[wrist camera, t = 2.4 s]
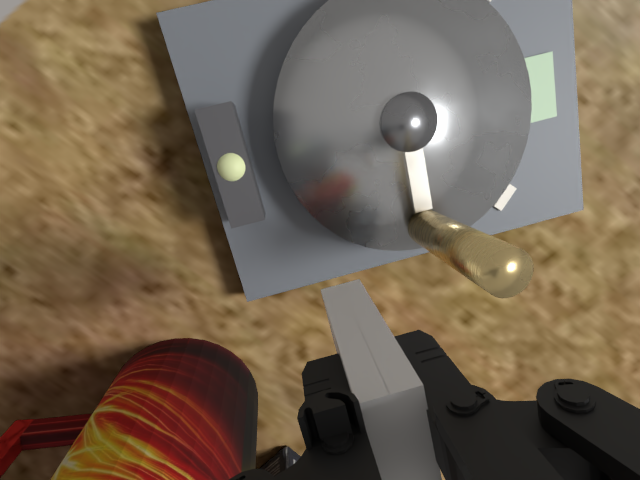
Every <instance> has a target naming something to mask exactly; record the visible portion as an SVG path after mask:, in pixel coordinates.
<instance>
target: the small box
mask: <svg viewBox="0 0 640 480" xmlns="http://www.w3.org/2000/svg"><path fill="white" fill-rule="evenodd" d="M299 458H300V456H299V455H298V454H297V453H296V452H294V451H293V450H292V449H291V448H290V447H284V448H283V449H282V450H280V451H279V452H278V453H277V454H276V455H275V456H274V457H273V458H271V459H270V460H269V461H268V462H267V463H266V464H265V465H263V466H262V467H261V468H260V469H263V470H266V471H268V472H269V473H271V474H272V475H273V476H276V475H277V474H279V473H281V472H282V471H284V470H286V469H287V468H289V467H290V466H291V465H293V464H294V463H295V462H296V461H297V460H298V459H299Z"/></svg>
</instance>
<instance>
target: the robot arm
mask: <svg viewBox="0 0 640 480" xmlns="http://www.w3.org/2000/svg"><path fill="white" fill-rule="evenodd" d="M321 293H322V297H323V301H324V305H325V308H326V312H327V316H328V320H329V324H330V328H331V332H332V336H333V340H334V343H335V347H336V351H337V354H335V355H331V356H327V357H324V358H320V359H317V360H313V361H309V362H307V364H306V366H305V368H304V370H303V372H302V379H303V386H304V396H305V401H304V403H303V404H302V406H301V407H300V409H299V412H298V418H297V419H298V422H299V425H300V429H301V432H302V435H303V438H304V442H305V445H306V450H305V451H304V453H303V455H302V456H301V457H300V458H299V459H298V460H297V461H296V462H295V463H294V464H293V465H291V466H290V467H289V468H287V469H286V470H284V471H282V472H281V473H279V474H277V475H276V476H273V475H272V474H271V473H269V472H268V471H266V470H263V469H251V470H247V471H243V472H241V473H239V474H237V475H235V476H234V477H232V478H230V479H229V480H442V479H441V473H440V469H441V471H442V473H443V475H444V477H445V479H446V480H640V409H638V408H636V407H635V406H633V405H631V404H629V403H627V402H625V401H623V400H621V399H620V398H618V397H616V396H614V395H612V394H610V393H608V392H606V391H605V390H603V389H601V388H599V387H597V386H594V385H592V384H589V383H587V382H584V381H579V380H573V379H556V380H553V381H549V382H546V383H544V384H543V385H542V386H541V387H540V388H539V389H538V392H537V396H536V399H537V401H501V400H496V399H495V398H494V396H493V395H491V394H490V393H489V392H488V391H486V390H485V389H483V388H480V387H477V386H475V385H471V384H470V383H469V382H468V381H467V379H466V378H465V377H464V376H463V374H462V373H461V372H460V371H459V369H458V368H457V367H456V366H455V364H454V363H453V362H452V361H451V359H450V358H449V357H448V356H447V355H446V353H445V352H444V350H443V349H442V348H440V345H439V344H438V343H437V342H436V340H435V339H434V338H433V337H432V336H431V335H429V334H426V333H424V332H422V331H420V330H417V331H413V332H409V333H406V334H402V335H399V336H395V337H394V336H393V334H392V332H391V331H390V329H389V327H388V326H387V324H386V322H385V321H384V319H383V317H382V316H381V314H380V312H379V311H378V309H377V308H376V306H375V304H374V303H373V301H372V299H371V298H370V296H369V294H368V293H367V291H366V289H365V288H364V286H363V284H362V283H361V281H360V279H358V280H354V281H351V282H347V283H343V284H339V285H336V286H332V287H328V288H325V289H321ZM439 467H440V468H439Z"/></svg>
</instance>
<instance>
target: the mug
mask: <svg viewBox="0 0 640 480" xmlns="http://www.w3.org/2000/svg"><path fill="white" fill-rule="evenodd" d="M257 416H258V392H257V388H256V383H255V380H254V378H253V376H252V374H251V372H250V370H249V369H248V368H247V367H246V365H245V364H244V363H243V362H242V360H241V359H239V358H238V357H237V356H236V355H235V354H233V353H232V352H231V351H229V350H227V349H225V348H224V347H222V346H220V345H218V344H214V343H211V342H208V341H205V340H199V339H192V338H182V339H171V340H166V341H162V342H158V343H156V344H153V345H151V346H148V347H146V348H145V349H143V350H141V351H140V352H138V353H137V354H135V355H134V356H133V357H132V358H131V359H130V360H129V361H128V362H126V363H125V364H124V366H123V367H122V369H121V370H120V372H119V373H118V375H117V376H116V378H115V379H114V381H113V382H112V384H111V385H110V387H109V389H108V390H107V392H106V393H105V395H104V396H103V398H102V400H101V401H100V403H99V404H98V406H97V407H96V409H95V410H94V412H93V414H83V415H73V416H64V417H54V418H44V419H28V420H16V421H15V422H14V423H13V424H12V425H11V426H10V427H9V429H8V430H7V431H6V432H5V433H4V434H3V435H2V436H1V438H0V478H1V476H2V475H3V474H4V473H5V471H6V470H7V469H8V468H9V466H10V465H11V464H12V463H13V461H14V460H15V459H16V458H17V456H18V455H19V454H20V452H21V451H22V450H31V449H40V448H49V447H58V446H67V445H72V446H71V448H70V449H69V451H68V453H67V454H66V456H65V457H64V459H63V460H62V462H61V463H60V465H59V467H58V468H57V470H56V471H55V473H54V474H53V476H52V477H51V479H50V480H229V479H230V478H232V477H234V476H235V475H237V474H239V473H241V472H243V471H247V470H251V469H256V443H257Z"/></svg>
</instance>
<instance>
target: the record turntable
mask: <svg viewBox="0 0 640 480" xmlns="http://www.w3.org/2000/svg"><path fill="white" fill-rule="evenodd" d="M327 1H328V0H212V1H208V2H203V3H199V4H194V5H190V6H185V7H181V8H177V9H172V10H168V11H163V12H159V13H156V14H157V17H158V20H159V23H160V26H161V30H162V33H163V36H164V39H165V42H166V45H167V49H168V52H169V55H170V58H171V61H172V64H173V68H174V71H175V74H176V77H177V80H178V83H179V87H180V90H181V93H182V96H183V99H184V102H185V106H186V109H187V112H188V115H189V118H190V121H191V125H192V128H193V131H194V134H195V137H196V140H197V144H198V147H199V150H200V153H201V156H202V159H203V163H204V166H205V169H206V172H207V175H208V178H209V182H210V185H211V188H212V191H213V194H214V197H215V201H216V204H217V207H218V210H219V213H220V217H221V220H222V223H223V226H224V229H225V232H226V236H227V239H228V242H229V245H230V248H231V251H232V255H233V258H234V261H235V264H236V267H237V270H238V274H239V277H240V280H241V283H242V286H243V289H244V293H245V296H246V299H247V302H248V301H252V300H256V299H259V298H263V297H267V296H270V295H274V294H278V293H281V292H285V291H288V290H292V289H296V288H299V287H303V286H307V285H310V284H314V283H318V282H321V281H325V280H329V279H332V278H336V277H340V276H343V275H347V274H351V273H354V272H358V271H362V270H365V269H369V268H372V267H376V266H380V265H383V264H387V263H391V262H394V261H398V260H402V259H405V258H409V257H413V256H416V255H420V254H424V253H427V252H429V251H428V250H426V249H425V248H419V249H414V250H404V251H389V250H379V249H373V248H368V247H364V246H361V245H358V244H355V243H352V242H350V241H348V240H346V239H344V238H342V237H340V236H338V235H336V234H335V233H333V232H332V231H330V230H329V229H327V228H326V227H324V226H323V225H322V224H321V223H320V222H319V221H317V220H316V219H315V218H314V217H313V216H312V215H311V214H310V213H309V212H308V211H307V209H306V208H305V207H304V206H303V205H302V204H301V202H300V201H299V199H298V198H297V196H296V195H295V193H294V192H293V190H292V189H291V187H290V185H289V183H288V181H287V178H286V176H285V174H284V172H283V170H282V167H281V164H280V161H279V158H278V155H277V150H276V145H275V140H274V130H273V107H274V97H275V92H276V87H277V81H278V78H279V75H280V72H281V68H282V65H283V62H284V60H285V58H286V56H287V53H288V51H289V49H290V47H291V45H292V43H293V41H294V40H295V38H296V37H297V35H298V34H299V32H300V30H301V29H302V27H303V26H304V25H305V24H306V22H307V21H308V20H309V19H310V18H311V17H312V15H313V14H314V13H315V12H316V11H317V10H318V9H319V8H320V7H321V6H323V5H324V4H325V3H326V2H327ZM487 1H488V2H489V3H490V4H491V5H492V6H493V7H494V8H495V9H496V10H497V11H498V12H499V14H500V15H501V16H502V18H503V19H504V20H505V21H506V23H507V24H508V25H509V27H510V29H511V31H512V32H513V34H514V36H515V37H516V39H517V41H518V44H519V46H520V48H521V51H522V53H523V56H524V59H525V62H526V66H527V70H528V73H529V79H530V86H531V101H532V112H531V123H530V130H529V135H528V139H527V144H526V147H525V150H524V153H523V156H522V159H521V162H520V164H519V166H518V168H517V170H516V173H515V175H514V177H513V178H512V180H511V182H510V183H509V185H508V187H507V188H506V190H505V191H504V193H503V194H502V195H501V197H500V198H499V199H498V201H497V202H496V203H495V204H494V205H493V206H492V207H491V208H490V209H489V211H488V212H487V213H486V214H485V215H484V216H483V217H481V218H480V219H479V220H478V221H476V222H475V223H474V224H473V225H472V226H470V227H472V228H474V229H477V230H479V231H481V232H484V233H486V234H488V235H493V234H497V233H500V232H504V231H508V230H511V229H515V228H519V227H522V226H526V225H530V224H533V223H537V222H541V221H544V220H548V219H551V218H555V217H559V216H562V215H566V214H570V213H573V212H577V211H581V210H583V194H582V176H581V157H580V139H579V120H578V102H577V84H576V65H575V47H574V29H573V10H572V0H487Z"/></svg>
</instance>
